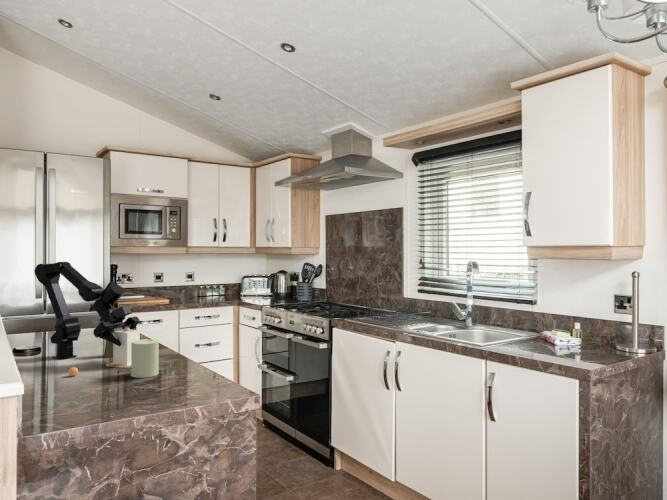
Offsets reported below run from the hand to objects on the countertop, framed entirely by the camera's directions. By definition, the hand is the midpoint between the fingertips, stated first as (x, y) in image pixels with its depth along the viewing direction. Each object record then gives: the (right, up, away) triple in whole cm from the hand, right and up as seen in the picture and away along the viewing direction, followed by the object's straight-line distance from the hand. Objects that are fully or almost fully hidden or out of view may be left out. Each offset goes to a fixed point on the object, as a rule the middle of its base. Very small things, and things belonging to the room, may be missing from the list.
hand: (129, 343), depth 191 cm
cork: (-13, -8, +14) cm, 21 cm away
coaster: (-1, -8, +1) cm, 8 cm away
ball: (-12, -8, -17) cm, 23 cm away
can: (+11, -9, -14) cm, 20 cm away
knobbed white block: (-1, -7, 0) cm, 8 cm away
